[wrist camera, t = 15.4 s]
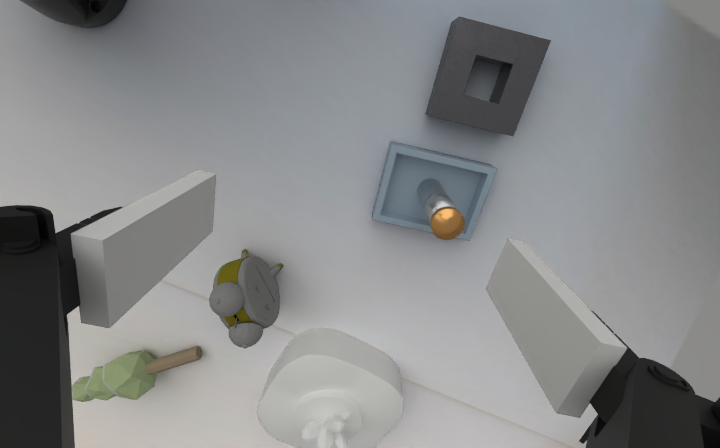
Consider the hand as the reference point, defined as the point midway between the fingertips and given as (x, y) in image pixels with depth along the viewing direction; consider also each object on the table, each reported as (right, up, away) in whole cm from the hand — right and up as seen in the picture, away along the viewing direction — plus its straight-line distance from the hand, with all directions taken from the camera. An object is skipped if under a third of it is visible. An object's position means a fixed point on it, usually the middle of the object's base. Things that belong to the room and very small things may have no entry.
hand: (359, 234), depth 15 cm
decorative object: (-44, -27, +55) cm, 75 cm away
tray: (+11, +6, +39) cm, 41 cm away
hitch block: (+17, +21, +33) cm, 42 cm away
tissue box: (-6, -32, +56) cm, 65 cm away
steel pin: (+11, +6, +39) cm, 41 cm away
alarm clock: (-17, -8, +46) cm, 49 cm away
